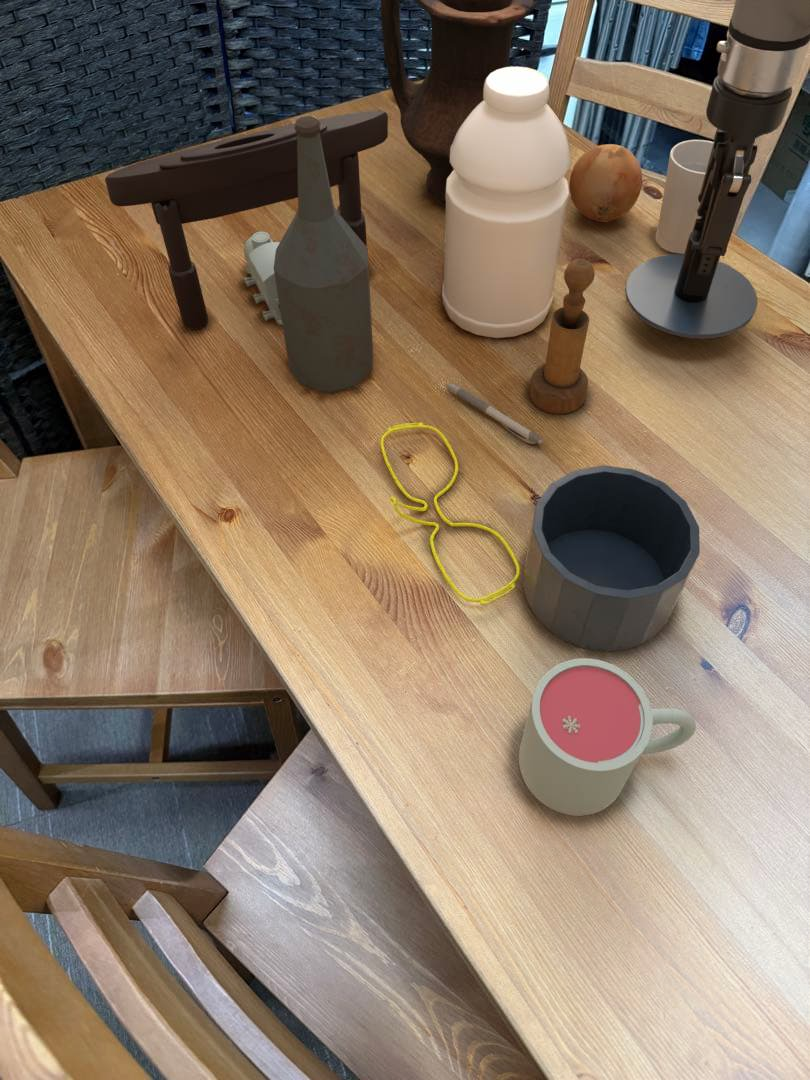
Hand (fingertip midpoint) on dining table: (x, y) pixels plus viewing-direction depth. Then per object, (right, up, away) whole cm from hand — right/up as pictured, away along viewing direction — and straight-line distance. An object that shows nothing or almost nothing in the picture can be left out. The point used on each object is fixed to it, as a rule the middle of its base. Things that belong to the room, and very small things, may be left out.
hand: (694, 280), depth 102 cm
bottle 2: (-23, -1, +7) cm, 24 cm away
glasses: (-31, -28, -13) cm, 44 cm away
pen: (-25, -17, -5) cm, 30 cm away
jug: (-27, +21, +23) cm, 41 cm away
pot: (-16, -36, -18) cm, 43 cm away
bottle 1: (-43, -10, +1) cm, 45 cm away
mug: (-18, -50, -29) cm, 61 cm away
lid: (0, -1, +2) cm, 2 cm away
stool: (-52, +1, +9) cm, 52 cm away
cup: (+3, +10, +15) cm, 18 cm away
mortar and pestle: (-17, -14, -2) cm, 22 cm away
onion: (-7, +15, +19) cm, 25 cm away
